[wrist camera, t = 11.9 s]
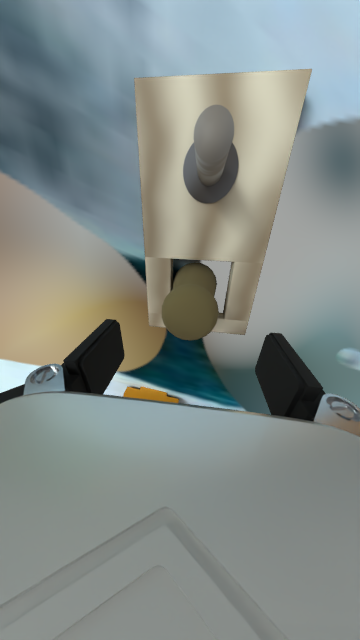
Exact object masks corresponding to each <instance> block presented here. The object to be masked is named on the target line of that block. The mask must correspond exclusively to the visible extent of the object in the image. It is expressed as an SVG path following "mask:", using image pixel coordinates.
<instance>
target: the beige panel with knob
mask: <svg viewBox="0 0 360 640" xmlns="http://www.w3.org/2000/svg"><path fill="white" fill-rule="evenodd" d="M311 71H312V69H300V70H280V71H261V72H242V73H222V74H203V75H184V76H164V77H145V78H134V83H135V99H136V116H137V132H138V149H139V165H140V182H141V199H142V215H143V232H144V248H145V265H146V281H147V297H148V315H149V326H155V327H165V325H164V323H163V320H162V304H163V302H164V299H165V298H166V296H167V295H168V294H169V293H170V292H171V290H173V259H191V260H210V261H228V262H232V263H231V269H230V275H229V281H228V287H227V293H226V299H225V305H224V310H223V313H219V315H218V319H217V323H216V325H215V327H214V328H213V330H212V331H211V332H219V333H230V334H240V335H245V332H246V329H247V325H248V321H249V317H250V313H251V309H252V304H253V301H254V296H255V293H256V289H257V285H258V281H259V277H260V273H261V269H262V265H263V261H264V257H265V253H266V249H267V245H268V241H269V238H270V234H271V230H272V226H273V222H274V218H275V214H276V210H277V206H278V202H279V198H280V194H281V190H282V186H283V182H284V178H285V174H286V170H287V166H288V162H289V158H290V154H291V151H292V147H293V143H294V139H295V135H296V131H297V127H298V123H299V119H300V115H301V111H302V107H303V103H304V99H305V95H306V91H307V87H308V83H309V79H310V75H311Z"/></svg>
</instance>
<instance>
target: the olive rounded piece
mask: <svg viewBox="0 0 360 640" xmlns="http://www.w3.org/2000/svg"><path fill="white" fill-rule="evenodd" d="M216 285H217V283H216V277H215V275H214V273H213V271H212V270H211V269H210V268H209V267H208V266H206V265H204V264H202V263H195V262H193V263H189V264H186V265H184V266H183V267H181V268H180V269H179V270H178V272H177V273H176V275H175V278H174V283H173V290H171V292H170V293H169V294H168V295H167V296H166V298H165V299H164V302H163V304H162V320H163V323H164V325H165V327H166V328H167V329H168V331H169V332H171V333H172V334H173V335H174V336H176V337H178V338H180V339H184V340H197V339H200V338H202V337H204V336H206V335H207V334H209V333H210V332H211V331H212V330H213V328H214V327H215V325H216V323H217V319H218V315H219V312H218V305H217V302H216V300H215V298H214V295H215V290H216Z"/></svg>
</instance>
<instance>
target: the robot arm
mask: <svg viewBox="0 0 360 640" xmlns="http://www.w3.org/2000/svg"><path fill="white" fill-rule="evenodd" d="M123 359H124V349H123V343H122V337H121V330H120V324H119V323H118V322H117V321H116V320H111V319H106V320H105V321H104V322H103V323H102V324H101V325H100V326H99V327H98V328H97V329H96V330H95V331H94V332H92V334H91V335H89V336H88V337H87V338H86V339H85V340H84V341H83V342H82V343H81V344H80V345H79V346H78V347H77V348H76V349H75V350H74V351H73V352H72V353H71V354H69V355H68V357H66V358H65V359H64V363H63V364H62V365H59V364H49V365H45V366H42V367H40V368H38V369H36V370H34V371H33V372H32V373H30V374H29V376H28V377H27V379H26V381H25V384H24V385H21V386H18V387H16V388H13V389H10V390H8V391H5V392H2V393H0V640H360V408H359V407H358V406H357V405H355V404H354V403H353V402H351V401H349V400H348V399H346V398H344V397H341V396H339V395H335V394H325V392H324V391H323V390H322V389H323V387H322V386H321V384H320V383H319V382H318V381H317V379H316V378H315V377H314V375H313V374H312V373H311V371H310V370H309V369H308V368H307V366H306V365H305V364H304V362H303V361H302V360H301V359H300V357H299V356H298V355H297V354H296V352H295V351H294V349H293V348H292V347H291V345H290V344H289V343H288V342H287V340H286V339H285V338H284V336H283V335H282V334H280V333H270V334H269V335H266V337H265V340H264V343H263V346H262V350H261V353H260V356H259V359H258V361H257V365H256V368H255V372H256V375H257V378H258V381H259V383H260V385H261V388H262V391H263V393H264V396H265V399H266V402H267V404H268V407H269V409H270V412H271V415H268V414H261V413H253V412H246V411H238V410H230V409H222V408H214V407H206V406H198V405H189V404H181V403H173V402H164V401H156V400H147V399H139V398H130V397H121V396H113V395H103V393H104V391H105V390H106V388H107V386H108V385H109V383H110V381H111V380H112V378H113V376H114V375H115V373H116V371H117V370H118V368H119V366H120V364H121V362H122V361H123Z"/></svg>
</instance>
